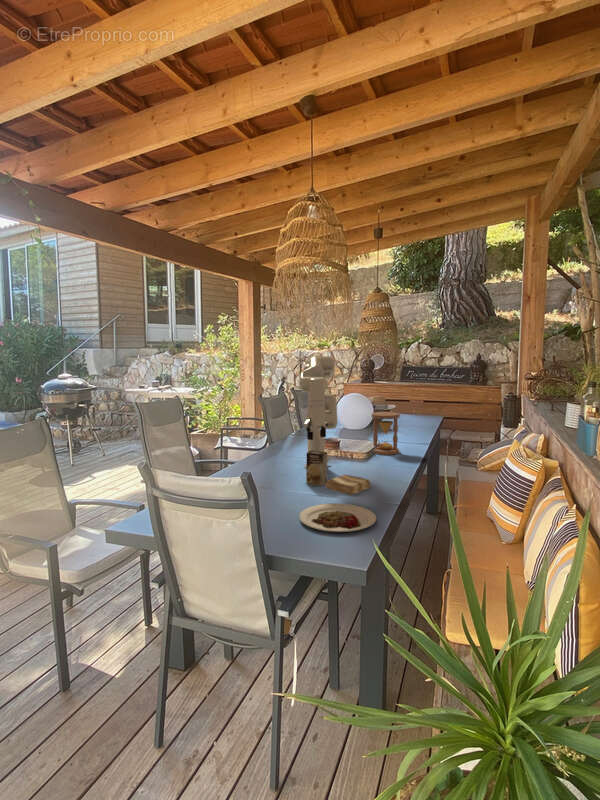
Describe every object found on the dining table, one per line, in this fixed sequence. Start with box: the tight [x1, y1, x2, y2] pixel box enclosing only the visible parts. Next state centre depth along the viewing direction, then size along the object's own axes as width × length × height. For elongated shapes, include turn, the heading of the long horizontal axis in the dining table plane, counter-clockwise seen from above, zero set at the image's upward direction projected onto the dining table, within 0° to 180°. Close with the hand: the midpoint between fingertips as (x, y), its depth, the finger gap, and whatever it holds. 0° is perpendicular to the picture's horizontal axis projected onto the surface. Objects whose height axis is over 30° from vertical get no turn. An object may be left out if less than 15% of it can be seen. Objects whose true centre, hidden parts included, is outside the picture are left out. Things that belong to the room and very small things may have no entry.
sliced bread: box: [325, 474, 371, 496], centre depth 228 cm, size 15×15×4 cm
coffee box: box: [305, 450, 328, 487], centre depth 235 cm, size 9×6×16 cm
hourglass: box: [371, 411, 400, 456], centre depth 304 cm, size 18×18×25 cm
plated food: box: [299, 503, 377, 533], centre depth 186 cm, size 30×30×3 cm
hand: (316, 438), depth 233 cm, fingers open, 9 cm apart
